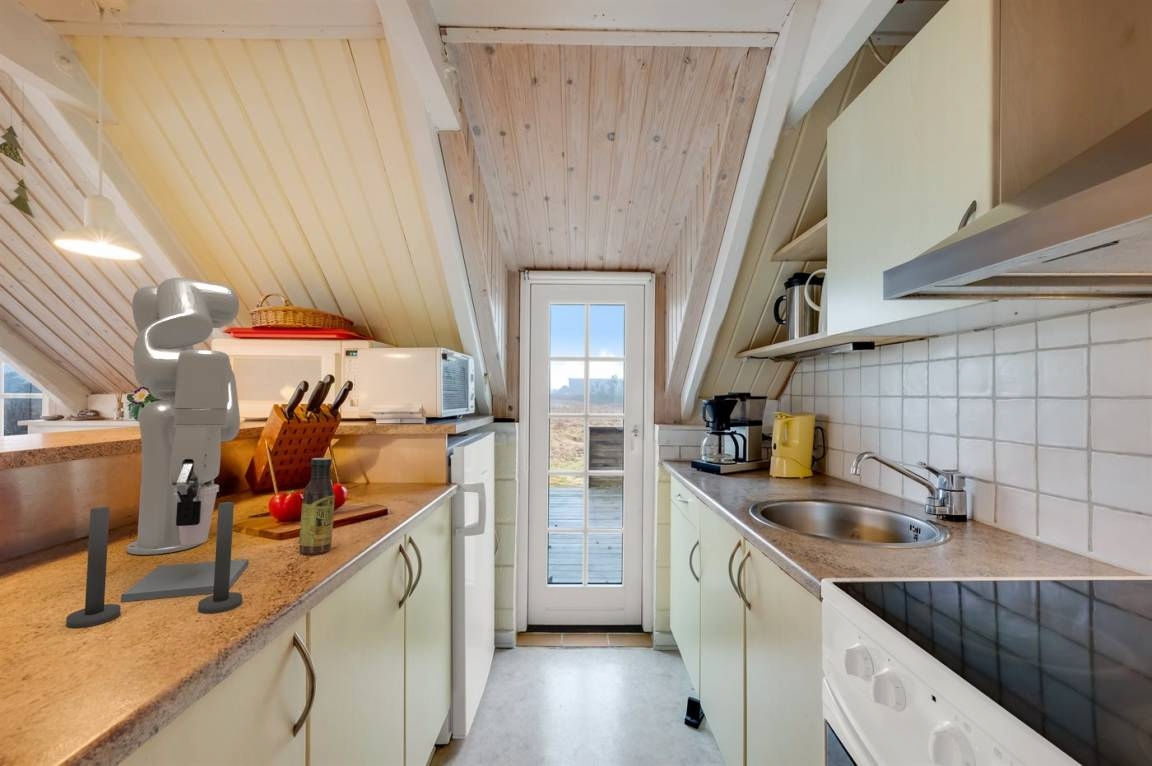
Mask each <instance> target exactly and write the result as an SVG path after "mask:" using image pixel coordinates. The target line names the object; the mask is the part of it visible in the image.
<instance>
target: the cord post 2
mask: <svg viewBox="0 0 1152 766" xmlns="http://www.w3.org/2000/svg"><path fill="white" fill-rule="evenodd" d="M234 507H235V502H233V501H227V502H226V501H225V502H220V503H218V506H217V522H216V523H217V526H216V541H215V560H214V562H215V574H214V591H213V593H212V594H213V595H209V596H206V597H204V598H202V599H201V600H199V601H198V604H197V611H198V613H202V614H219V613H222V612H227V611H231V610H233V609H236V608H238V607H239V606H240V605H242V604H243V594H242V593H241V592H236V591H235V592H233V591H231V592H230V588H229V583H230V565H231V560H232V545H233V528H234V526H233V525H234V512H235V511H234Z"/></svg>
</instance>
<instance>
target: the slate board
mask: <svg viewBox="0 0 1152 766" xmlns="http://www.w3.org/2000/svg"><path fill="white" fill-rule="evenodd" d="M249 560H250V558H245V559H244V558H241V559H231V565H230V583H229V589H231V587H232V586H233V585H234V583H235V582H236V581H237V580H238V579H239V577H240V576H241V575H242V574H243V572H244V571H245V570H246V569H245V568H247V567H249ZM244 569H245V570H244ZM214 574H215V561H204V562H193V563H191V562H190V563H180V564H179V563H178V564H168V565H166V564H165V565H159V566H157V567H156V568H155V569H154V570H152V571H151V572H150V573H148V574H147V575H145V576H143V578H141V579H140V580H138V581H137V582H136V583H135V584H133V585H132V586H131V587H129V588H128V589H126V590H125V591H124V592H122V594H121V595H120V596H121V597H120V603H125V602H127V601H128V602H135V600H139V601H146V600H145V599H149V600H155V599H154V598H159V599H166V598H165V597H169V598H177V597H178V596H179V597H187V596H189V595H190V596H197V595H198V596H199V595H208V594H213V591H214ZM179 597H178V598H179Z"/></svg>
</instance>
